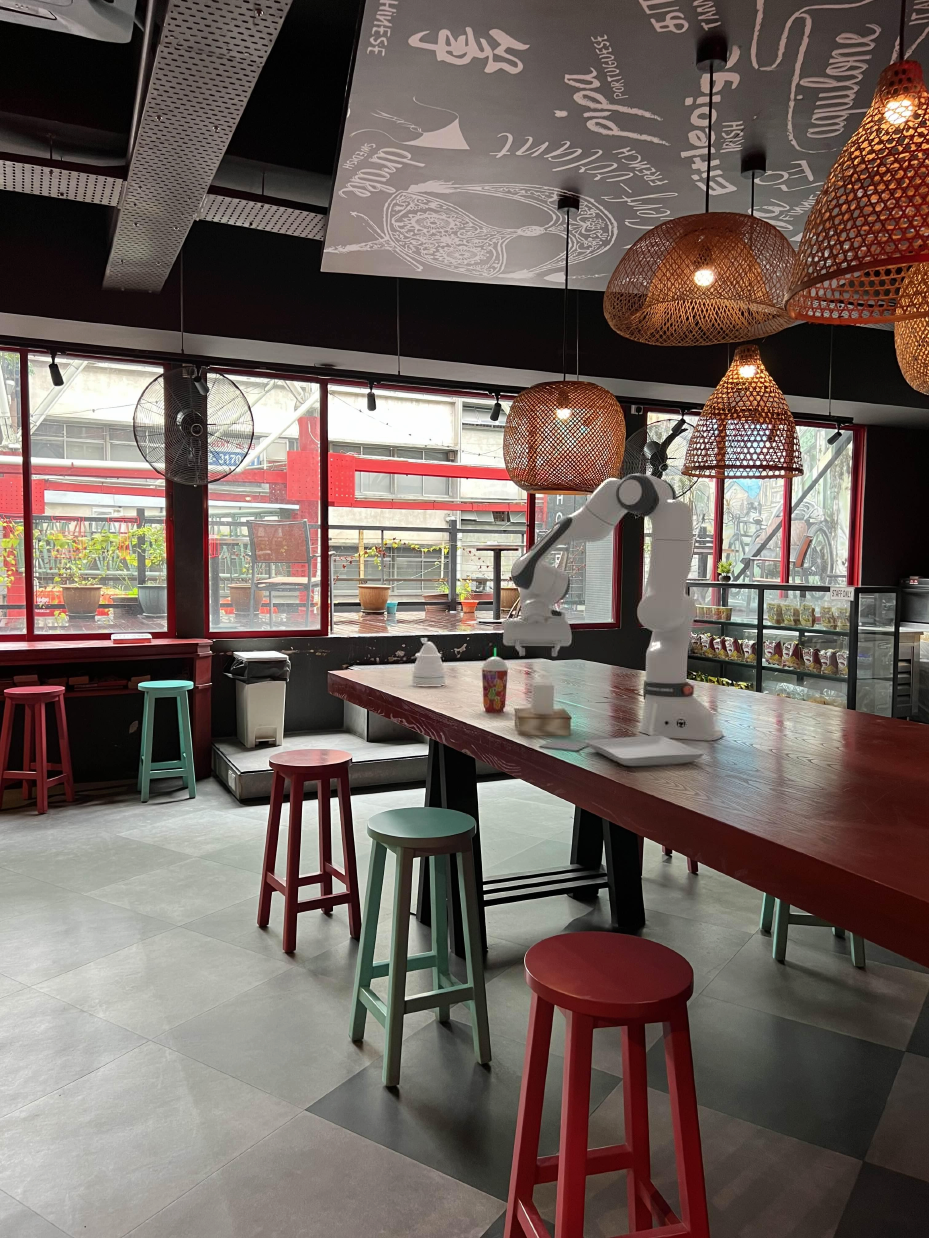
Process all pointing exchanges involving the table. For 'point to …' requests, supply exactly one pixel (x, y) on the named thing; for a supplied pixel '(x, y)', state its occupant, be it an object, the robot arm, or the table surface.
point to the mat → (564, 745)
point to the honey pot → (428, 666)
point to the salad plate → (645, 750)
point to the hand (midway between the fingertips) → (538, 654)
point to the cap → (542, 698)
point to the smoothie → (494, 684)
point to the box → (542, 722)
